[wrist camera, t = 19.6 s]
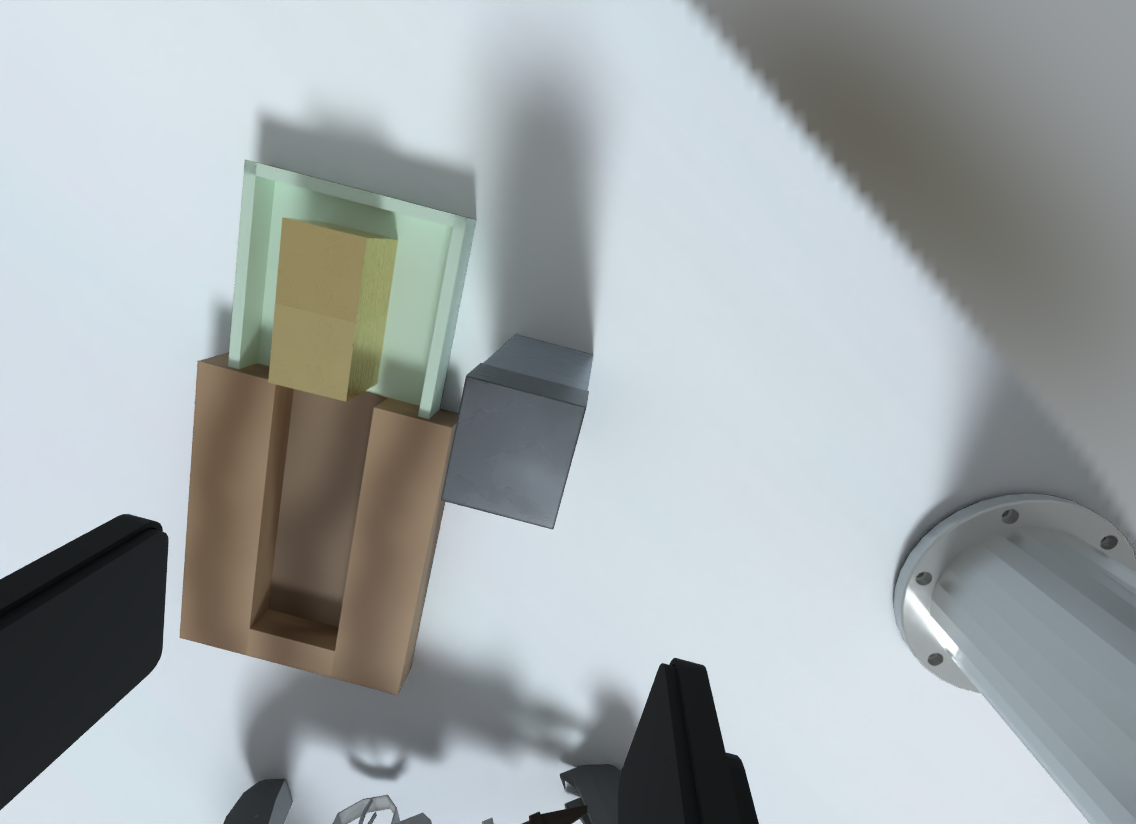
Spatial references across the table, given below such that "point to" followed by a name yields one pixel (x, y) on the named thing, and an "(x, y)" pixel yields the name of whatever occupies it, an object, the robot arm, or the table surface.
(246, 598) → the slot board
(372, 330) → the olive yellow cube
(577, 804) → the gun
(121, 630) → the robot arm
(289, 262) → the tan wooden cube
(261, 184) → the tray
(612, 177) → the table surface
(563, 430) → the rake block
